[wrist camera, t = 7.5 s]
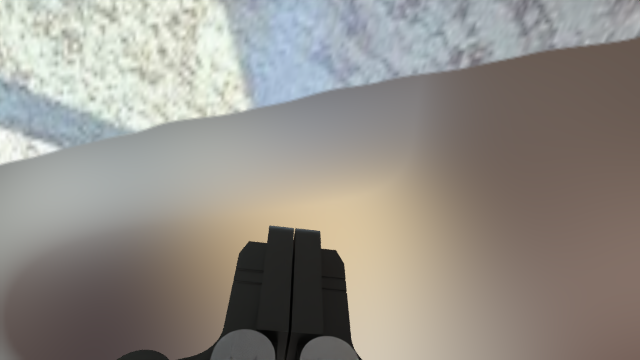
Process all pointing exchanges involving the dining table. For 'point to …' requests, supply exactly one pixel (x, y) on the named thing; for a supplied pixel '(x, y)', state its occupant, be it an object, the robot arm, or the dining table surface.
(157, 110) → the dining table surface
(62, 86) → the dining table surface
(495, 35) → the dining table surface
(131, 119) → the dining table surface
